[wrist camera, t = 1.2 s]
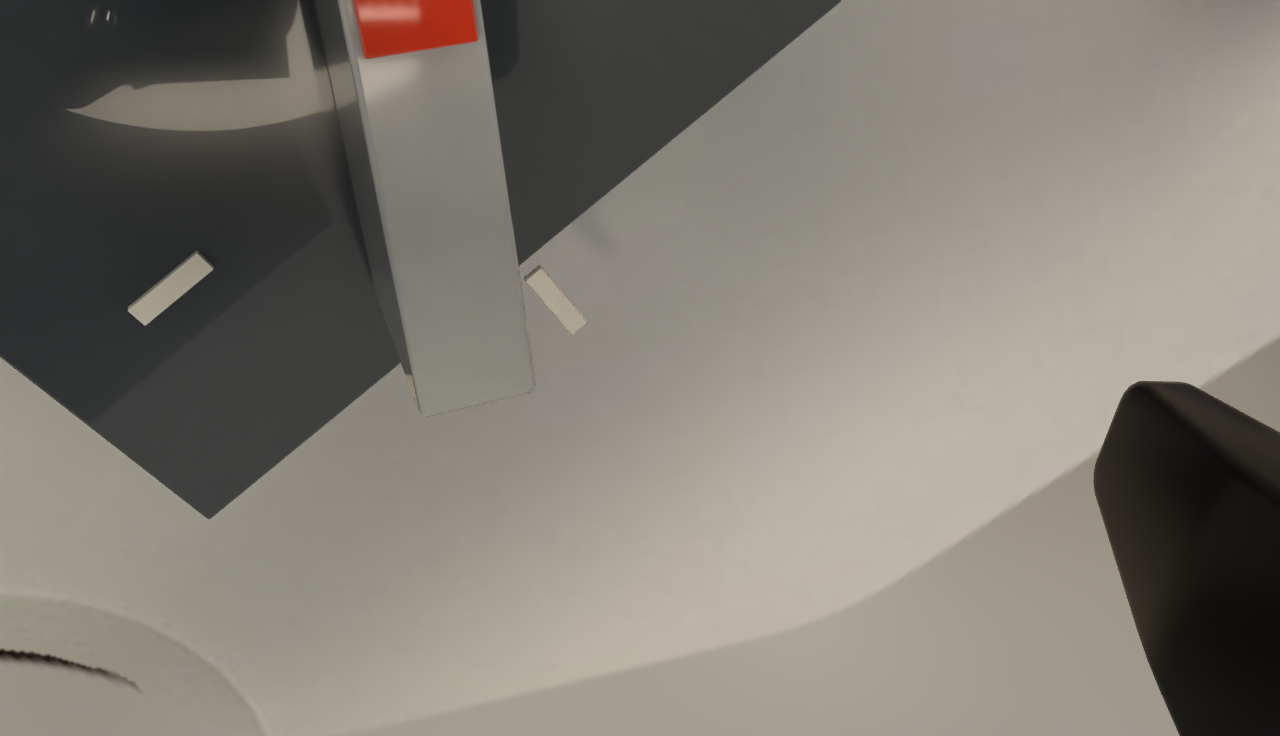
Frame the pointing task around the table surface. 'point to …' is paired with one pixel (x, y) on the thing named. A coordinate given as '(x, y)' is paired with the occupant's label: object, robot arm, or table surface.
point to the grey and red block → (431, 193)
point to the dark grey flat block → (285, 199)
